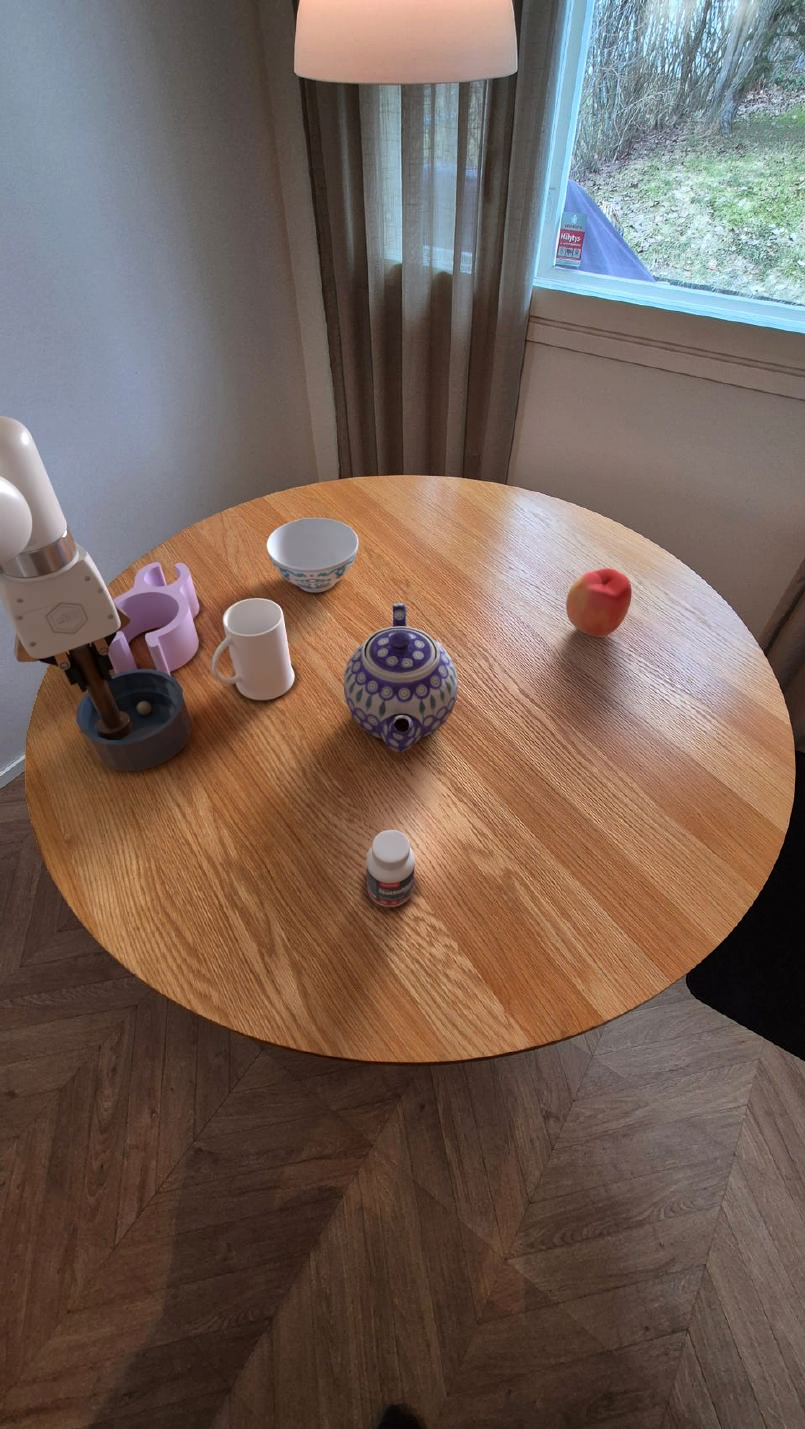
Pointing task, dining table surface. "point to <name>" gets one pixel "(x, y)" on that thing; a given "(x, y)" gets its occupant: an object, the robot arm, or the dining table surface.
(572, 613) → the apple
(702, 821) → the dining table surface
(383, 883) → the pill bottle
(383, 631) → the teapot
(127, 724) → the rod
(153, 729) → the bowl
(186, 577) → the clip
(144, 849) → the dining table surface
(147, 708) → the bead
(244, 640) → the mug
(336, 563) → the chinaware
